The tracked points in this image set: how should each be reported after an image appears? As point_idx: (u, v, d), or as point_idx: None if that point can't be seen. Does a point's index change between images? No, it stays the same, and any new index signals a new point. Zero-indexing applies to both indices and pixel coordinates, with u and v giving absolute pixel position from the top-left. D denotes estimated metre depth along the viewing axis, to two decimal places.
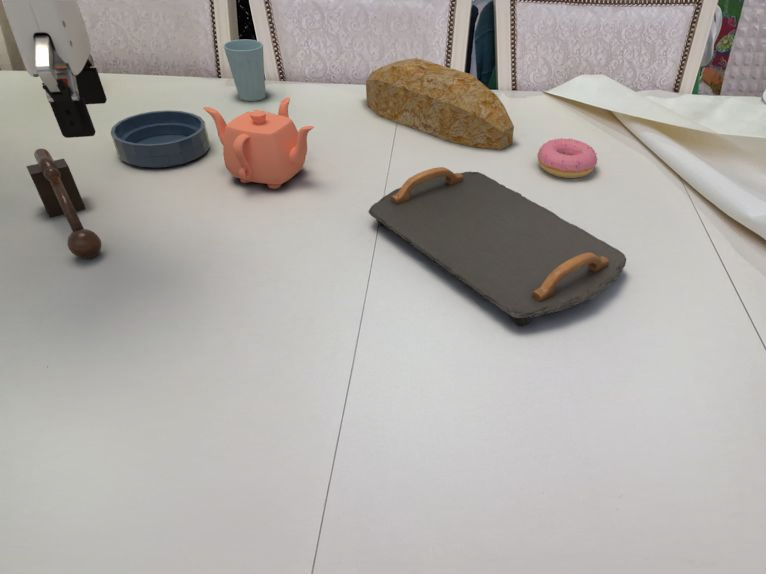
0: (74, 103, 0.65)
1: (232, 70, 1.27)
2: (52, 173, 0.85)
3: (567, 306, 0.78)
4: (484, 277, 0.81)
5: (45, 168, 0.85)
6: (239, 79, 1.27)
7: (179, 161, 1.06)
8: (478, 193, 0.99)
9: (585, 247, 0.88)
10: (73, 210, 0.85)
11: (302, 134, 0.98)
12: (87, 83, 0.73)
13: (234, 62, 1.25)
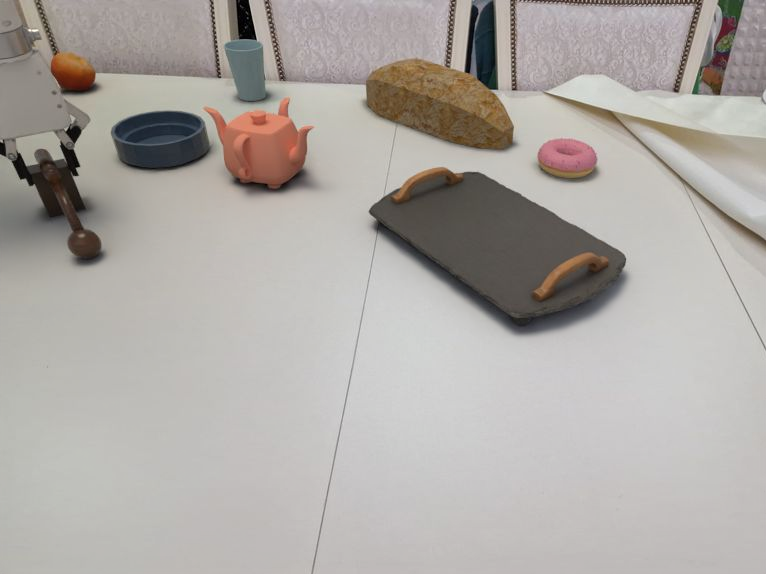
0: (14, 160, 0.85)
1: (232, 70, 1.27)
2: (52, 173, 0.85)
3: (567, 306, 0.78)
4: (484, 277, 0.81)
5: (45, 168, 0.85)
6: (239, 79, 1.27)
7: (179, 161, 1.06)
8: (478, 193, 0.99)
9: (585, 247, 0.88)
10: (73, 210, 0.85)
11: (302, 134, 0.98)
12: (65, 158, 0.89)
13: (234, 62, 1.25)
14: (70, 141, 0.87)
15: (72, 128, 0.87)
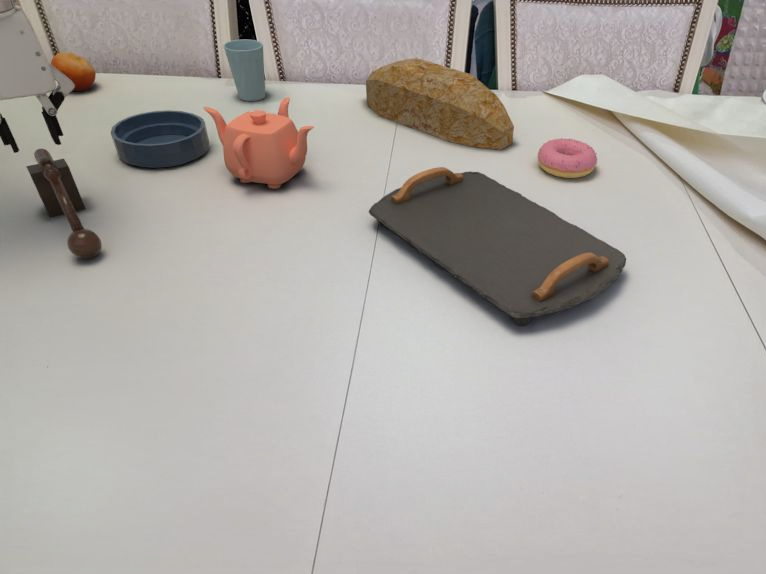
0: None
1: (232, 70, 1.27)
2: (52, 173, 0.85)
3: (567, 306, 0.78)
4: (484, 277, 0.81)
5: (45, 168, 0.85)
6: (239, 79, 1.27)
7: (179, 161, 1.06)
8: (478, 193, 0.99)
9: (585, 247, 0.88)
10: (73, 210, 0.85)
11: (302, 134, 0.98)
12: (47, 125, 0.86)
13: (234, 62, 1.25)
14: (53, 107, 0.84)
15: (55, 94, 0.84)
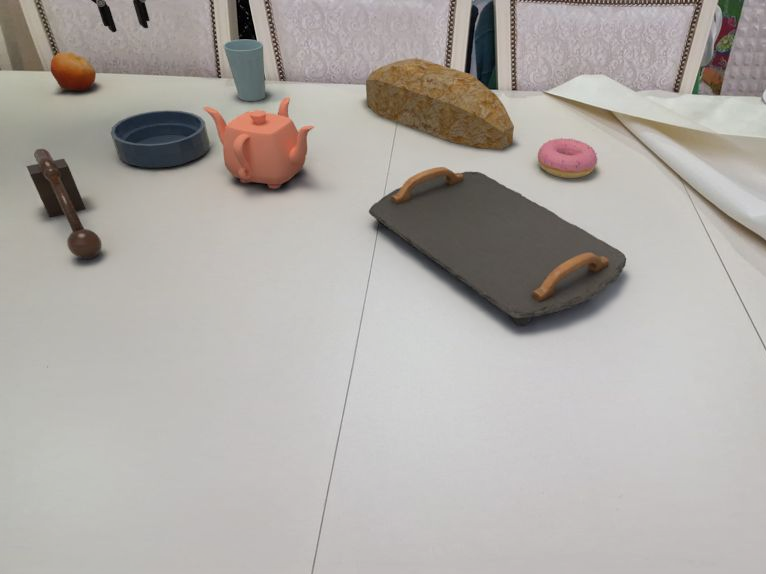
0: (101, 7, 1.03)
1: (232, 70, 1.27)
2: (52, 173, 0.85)
3: (567, 306, 0.78)
4: (484, 277, 0.81)
5: (45, 168, 0.85)
6: (239, 79, 1.27)
7: (179, 161, 1.06)
8: (478, 193, 0.99)
9: (585, 247, 0.88)
10: (73, 210, 0.85)
11: (302, 134, 0.98)
12: (137, 11, 1.06)
13: (234, 62, 1.25)
14: None
15: None
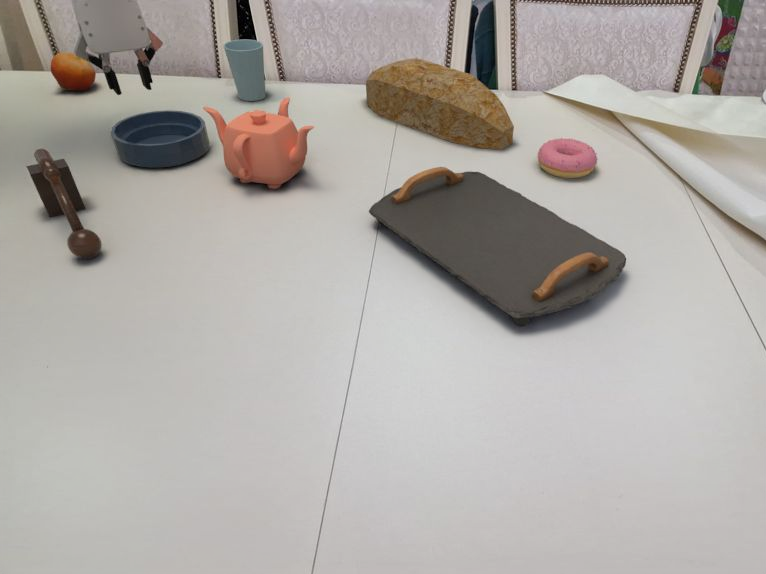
0: (107, 73, 1.08)
1: (232, 70, 1.27)
2: (52, 173, 0.85)
3: (567, 306, 0.78)
4: (484, 277, 0.81)
5: (45, 168, 0.85)
6: (239, 79, 1.27)
7: (179, 161, 1.06)
8: (478, 192, 0.99)
9: (585, 247, 0.88)
10: (73, 210, 0.85)
11: (302, 134, 0.98)
12: (141, 74, 1.12)
13: (234, 62, 1.25)
14: (147, 60, 1.10)
15: (148, 49, 1.10)
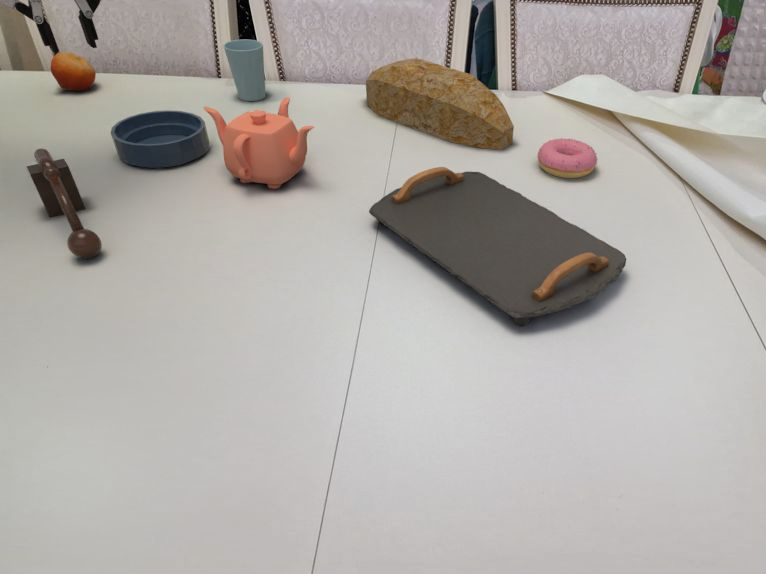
0: (40, 25, 0.88)
1: (232, 70, 1.27)
2: (52, 173, 0.85)
3: (567, 306, 0.78)
4: (484, 277, 0.81)
5: (45, 168, 0.85)
6: (239, 79, 1.27)
7: (179, 161, 1.06)
8: (478, 192, 0.99)
9: (585, 247, 0.88)
10: (73, 210, 0.85)
11: (302, 134, 0.98)
12: (84, 28, 0.92)
13: (234, 62, 1.25)
14: (89, 10, 0.90)
15: None
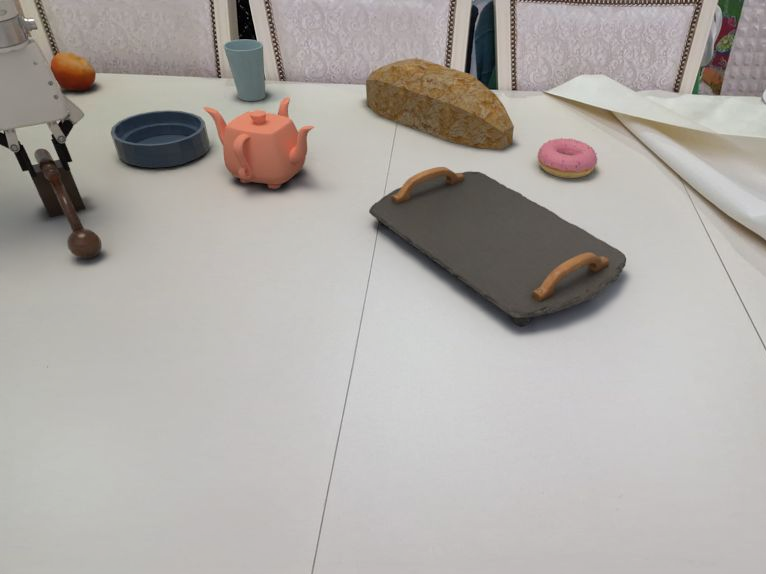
0: (16, 152, 0.84)
1: (232, 70, 1.27)
2: (52, 173, 0.85)
3: (567, 306, 0.78)
4: (484, 277, 0.81)
5: (45, 168, 0.85)
6: (239, 79, 1.27)
7: (179, 161, 1.06)
8: (479, 192, 0.99)
9: (585, 247, 0.88)
10: (73, 210, 0.85)
11: (302, 134, 0.98)
12: (57, 152, 0.88)
13: (234, 62, 1.25)
14: (62, 135, 0.86)
15: (64, 122, 0.86)
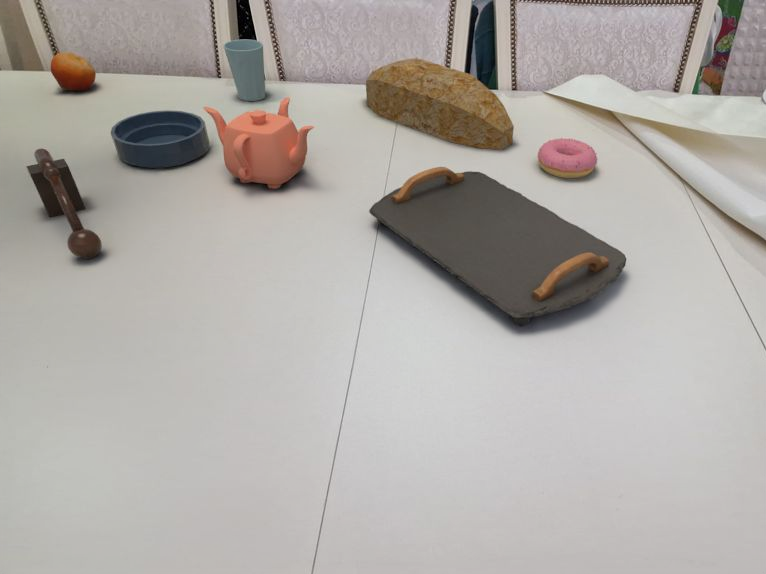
0: None
1: (232, 70, 1.27)
2: (52, 173, 0.85)
3: (567, 306, 0.78)
4: (484, 277, 0.81)
5: (45, 168, 0.85)
6: (239, 79, 1.27)
7: (179, 161, 1.06)
8: (479, 192, 0.99)
9: (585, 247, 0.88)
10: (73, 210, 0.85)
11: (302, 134, 0.98)
12: None
13: (234, 62, 1.25)
14: None
15: None
